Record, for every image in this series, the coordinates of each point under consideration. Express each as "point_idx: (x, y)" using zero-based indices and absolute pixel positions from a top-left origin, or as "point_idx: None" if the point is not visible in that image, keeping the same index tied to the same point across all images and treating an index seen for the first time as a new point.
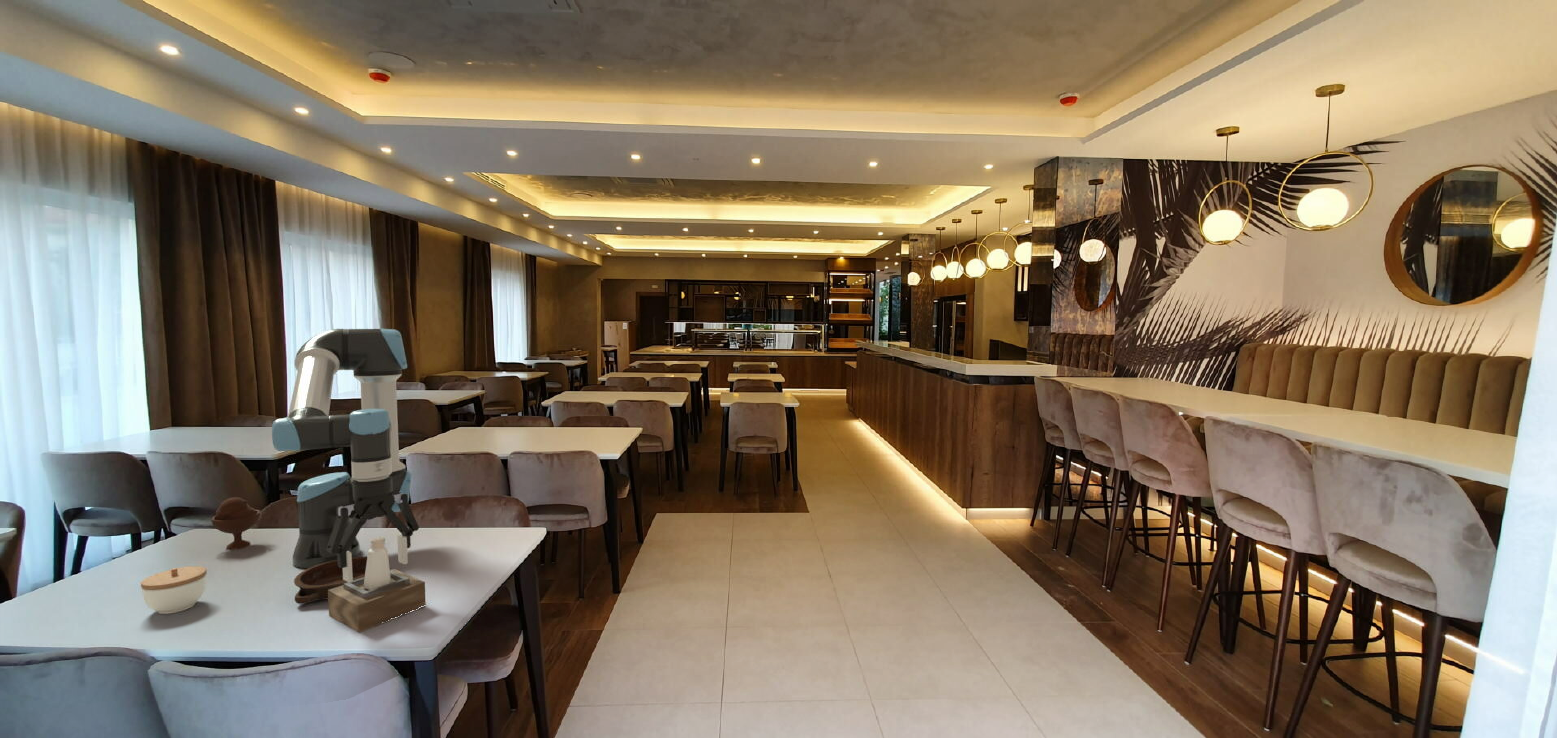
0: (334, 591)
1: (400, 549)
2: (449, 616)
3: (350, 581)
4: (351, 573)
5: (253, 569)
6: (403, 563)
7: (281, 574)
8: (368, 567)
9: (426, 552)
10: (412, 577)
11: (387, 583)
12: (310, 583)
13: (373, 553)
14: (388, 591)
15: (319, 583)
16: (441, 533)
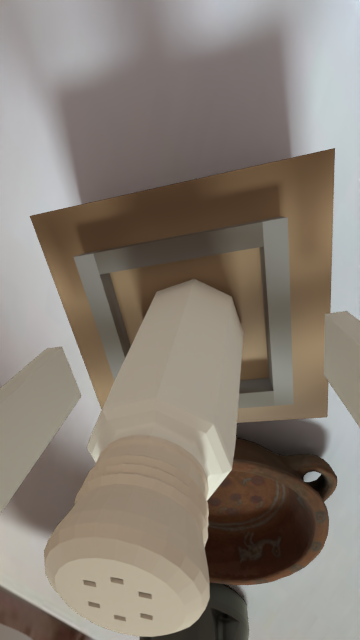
0: (319, 389)
1: (27, 431)
2: (27, 44)
3: (337, 313)
4: (352, 335)
5: (297, 633)
6: (63, 355)
7: (274, 596)
8: (233, 366)
9: (38, 518)
10: (68, 308)
11: (161, 292)
12: (269, 530)
13: (207, 413)
14: (176, 225)
15: (250, 522)
16: (3, 568)
